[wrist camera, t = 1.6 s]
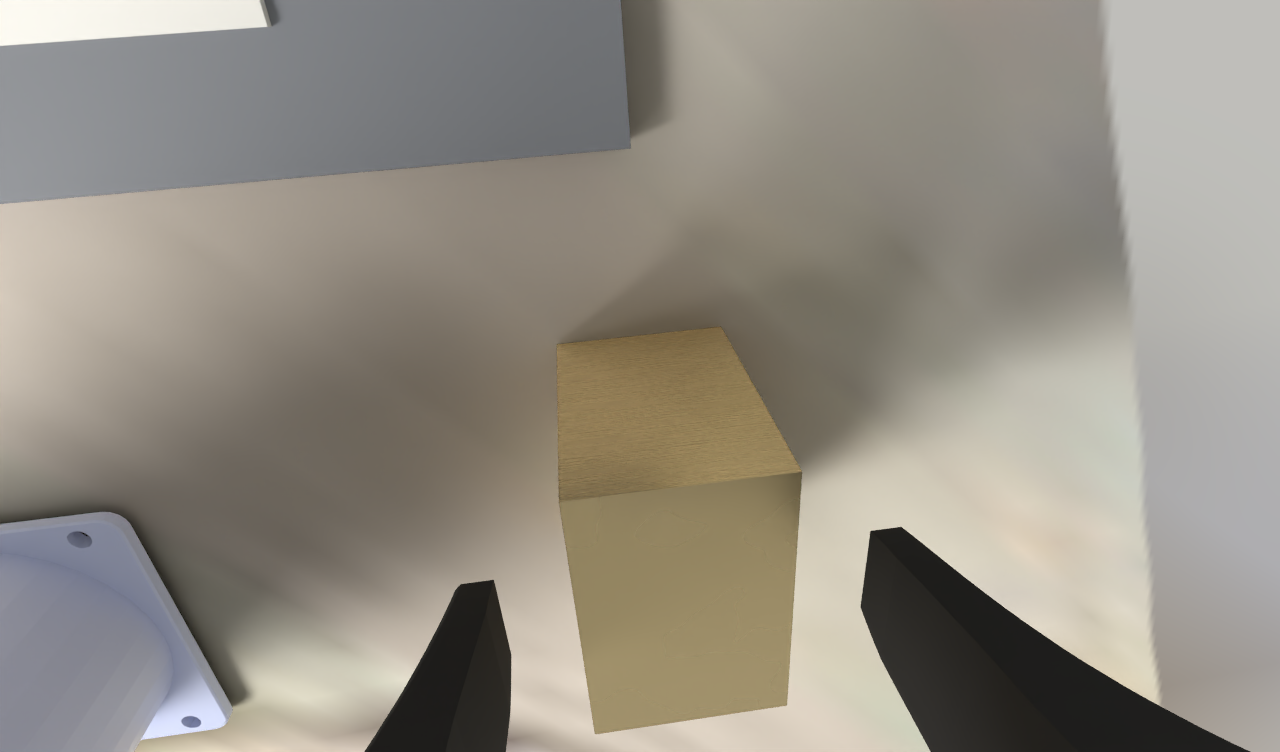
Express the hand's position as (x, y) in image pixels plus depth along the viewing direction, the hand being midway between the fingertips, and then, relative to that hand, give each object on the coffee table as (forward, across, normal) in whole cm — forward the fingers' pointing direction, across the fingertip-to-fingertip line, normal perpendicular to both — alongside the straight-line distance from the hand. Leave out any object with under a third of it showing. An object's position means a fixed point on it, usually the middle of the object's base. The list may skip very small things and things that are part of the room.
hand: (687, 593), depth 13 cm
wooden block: (+6, 0, 0) cm, 6 cm away
